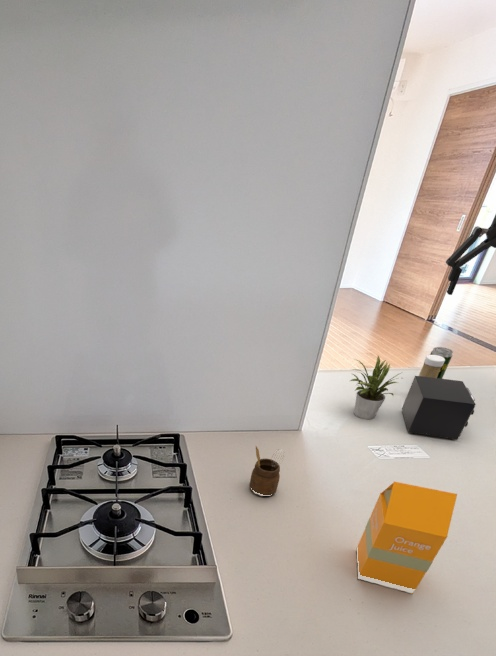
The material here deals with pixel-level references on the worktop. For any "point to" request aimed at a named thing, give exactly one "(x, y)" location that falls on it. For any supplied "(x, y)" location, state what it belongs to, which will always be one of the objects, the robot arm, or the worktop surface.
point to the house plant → (371, 391)
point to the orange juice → (405, 533)
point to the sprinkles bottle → (432, 366)
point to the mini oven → (438, 407)
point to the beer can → (445, 354)
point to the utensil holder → (265, 475)
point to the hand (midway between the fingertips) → (478, 295)
